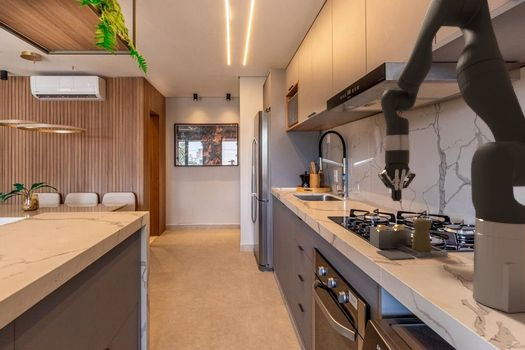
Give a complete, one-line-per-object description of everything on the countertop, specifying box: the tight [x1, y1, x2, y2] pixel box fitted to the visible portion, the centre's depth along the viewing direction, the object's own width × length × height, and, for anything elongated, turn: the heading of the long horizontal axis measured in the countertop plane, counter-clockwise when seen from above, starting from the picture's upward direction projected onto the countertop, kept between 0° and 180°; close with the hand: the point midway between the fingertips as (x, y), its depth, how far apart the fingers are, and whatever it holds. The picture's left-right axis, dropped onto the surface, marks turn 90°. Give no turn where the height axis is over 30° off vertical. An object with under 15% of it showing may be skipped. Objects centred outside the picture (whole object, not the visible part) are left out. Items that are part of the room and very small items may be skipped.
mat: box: [376, 249, 416, 261], centre depth 96 cm, size 8×8×1 cm
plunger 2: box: [393, 224, 405, 230], centre depth 108 cm, size 3×3×5 cm
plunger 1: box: [376, 224, 388, 230], centre depth 107 cm, size 3×3×5 cm
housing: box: [369, 226, 449, 259], centre depth 102 cm, size 17×17×6 cm
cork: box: [411, 217, 432, 252], centre depth 99 cm, size 6×6×11 cm
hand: (396, 201), depth 103 cm, fingers closed
